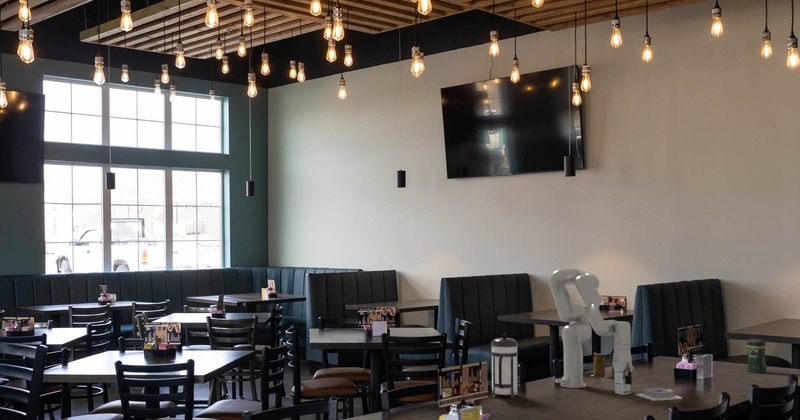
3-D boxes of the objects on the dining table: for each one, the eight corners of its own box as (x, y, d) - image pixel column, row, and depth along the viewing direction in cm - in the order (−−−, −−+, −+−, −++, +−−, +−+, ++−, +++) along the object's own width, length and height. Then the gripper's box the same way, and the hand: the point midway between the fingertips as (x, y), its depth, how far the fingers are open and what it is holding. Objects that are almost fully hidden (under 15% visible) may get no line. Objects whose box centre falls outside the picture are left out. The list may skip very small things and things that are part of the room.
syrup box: (622, 395, 393) (622, 364, 394) (614, 393, 398) (614, 363, 399) (631, 394, 396) (631, 363, 396) (623, 392, 401) (622, 362, 402)
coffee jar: (768, 372, 462) (768, 339, 462) (761, 373, 457) (761, 340, 457) (752, 370, 469) (751, 337, 470) (745, 371, 464) (744, 338, 465)
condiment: (602, 375, 453) (602, 353, 453) (609, 377, 444) (609, 355, 445) (590, 375, 451) (589, 353, 452) (597, 378, 443) (596, 355, 443)
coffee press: (481, 394, 394) (481, 332, 395) (510, 392, 401) (509, 330, 402) (499, 401, 378) (499, 335, 380) (529, 398, 385) (528, 334, 386)
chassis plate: (652, 400, 379) (652, 394, 379) (635, 395, 392) (635, 388, 392) (682, 398, 384) (682, 392, 384) (664, 393, 397) (663, 387, 397)
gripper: (606, 345, 405) (606, 380, 405) (625, 349, 389) (626, 385, 388) (619, 344, 407) (619, 379, 407) (639, 349, 391) (639, 385, 390)
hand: (622, 382), depth 397 cm, fingers open, 9 cm apart
